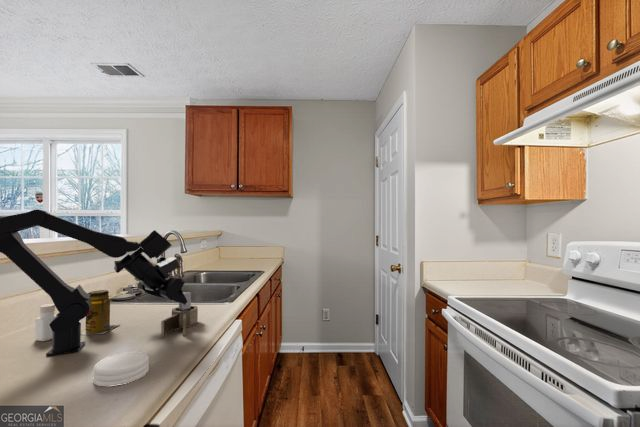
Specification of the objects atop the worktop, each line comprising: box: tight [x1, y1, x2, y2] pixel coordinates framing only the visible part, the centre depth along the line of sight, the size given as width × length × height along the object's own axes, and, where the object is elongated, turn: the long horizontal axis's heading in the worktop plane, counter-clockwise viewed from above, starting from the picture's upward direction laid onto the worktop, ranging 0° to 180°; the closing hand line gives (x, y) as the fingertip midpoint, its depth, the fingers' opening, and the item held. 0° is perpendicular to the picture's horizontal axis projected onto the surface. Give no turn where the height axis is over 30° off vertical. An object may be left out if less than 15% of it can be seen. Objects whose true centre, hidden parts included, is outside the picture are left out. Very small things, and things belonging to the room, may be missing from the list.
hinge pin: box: [178, 291, 192, 311], centre depth 100 cm, size 4×4×10 cm
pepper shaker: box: [34, 303, 57, 342], centre depth 88 cm, size 4×4×10 cm
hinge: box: [160, 305, 199, 338], centre depth 96 cm, size 15×10×5 cm, turn 23°
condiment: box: [81, 289, 121, 336], centre depth 95 cm, size 7×8×12 cm
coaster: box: [92, 351, 150, 387], centre depth 66 cm, size 10×10×4 cm
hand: (178, 300), depth 99 cm, fingers open, 9 cm apart
